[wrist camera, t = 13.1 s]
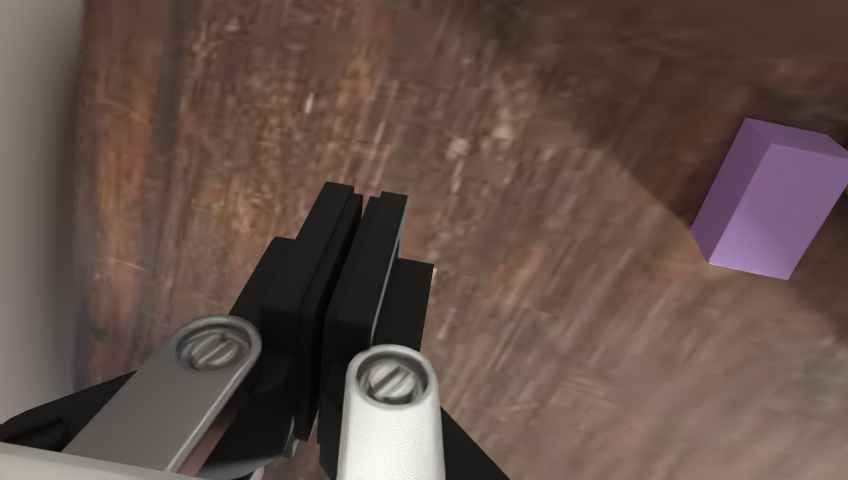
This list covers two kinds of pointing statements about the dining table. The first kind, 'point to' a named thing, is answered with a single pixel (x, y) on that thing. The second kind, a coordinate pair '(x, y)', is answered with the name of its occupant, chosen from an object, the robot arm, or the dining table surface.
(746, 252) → the block
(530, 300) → the dining table surface
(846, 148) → the burger
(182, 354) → the robot arm
